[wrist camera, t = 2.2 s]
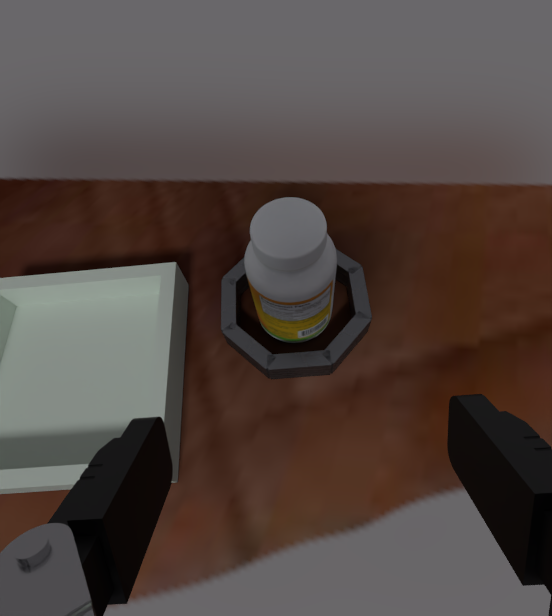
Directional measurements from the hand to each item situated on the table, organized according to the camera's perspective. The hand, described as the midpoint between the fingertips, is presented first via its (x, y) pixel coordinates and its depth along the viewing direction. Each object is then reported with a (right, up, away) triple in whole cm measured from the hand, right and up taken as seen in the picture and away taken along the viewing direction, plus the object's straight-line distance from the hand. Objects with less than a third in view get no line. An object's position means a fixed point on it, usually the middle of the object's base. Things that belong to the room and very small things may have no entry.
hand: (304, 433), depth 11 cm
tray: (-14, -1, +16) cm, 22 cm away
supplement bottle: (+1, +3, +18) cm, 18 cm away
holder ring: (+1, +3, +18) cm, 18 cm away
